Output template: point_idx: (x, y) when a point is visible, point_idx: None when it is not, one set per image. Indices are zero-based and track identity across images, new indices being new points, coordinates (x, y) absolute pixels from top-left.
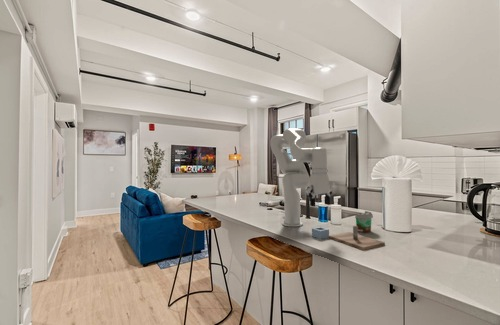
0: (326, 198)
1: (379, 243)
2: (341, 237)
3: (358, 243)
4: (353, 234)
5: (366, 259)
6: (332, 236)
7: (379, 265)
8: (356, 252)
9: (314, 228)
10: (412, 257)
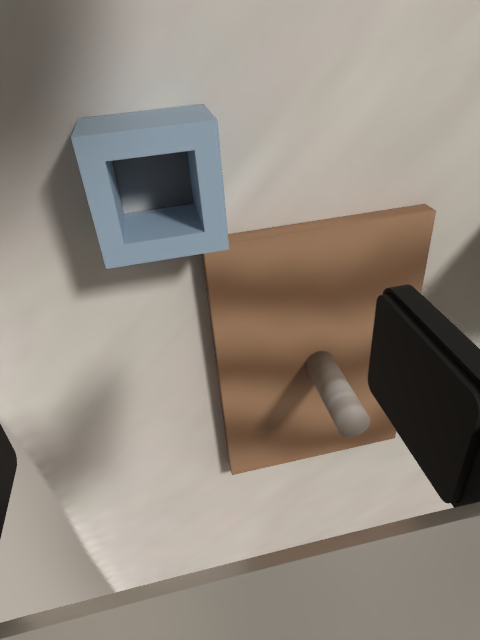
0: (439, 431)
1: (356, 445)
2: (259, 315)
3: (260, 428)
4: (316, 381)
5: (152, 534)
6: (214, 274)
7: (155, 571)
8: (173, 477)
9: (99, 160)
10: (332, 533)
